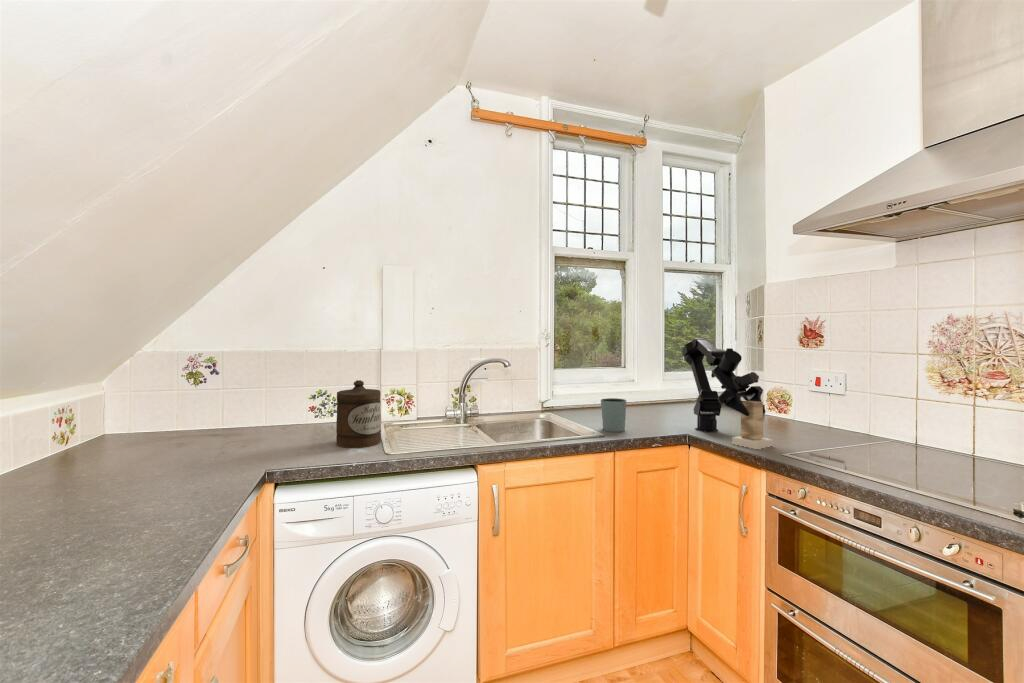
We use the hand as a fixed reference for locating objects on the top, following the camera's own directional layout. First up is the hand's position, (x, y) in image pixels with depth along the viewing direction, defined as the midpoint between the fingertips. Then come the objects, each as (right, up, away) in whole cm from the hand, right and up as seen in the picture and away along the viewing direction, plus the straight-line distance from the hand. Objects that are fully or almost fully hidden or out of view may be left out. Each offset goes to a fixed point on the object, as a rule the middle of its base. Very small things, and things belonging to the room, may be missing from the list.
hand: (756, 414), depth 164 cm
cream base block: (-1, -12, +1) cm, 12 cm away
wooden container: (-138, -11, +3) cm, 138 cm away
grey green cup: (-44, -10, +27) cm, 52 cm away
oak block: (-1, -8, +2) cm, 9 cm away
